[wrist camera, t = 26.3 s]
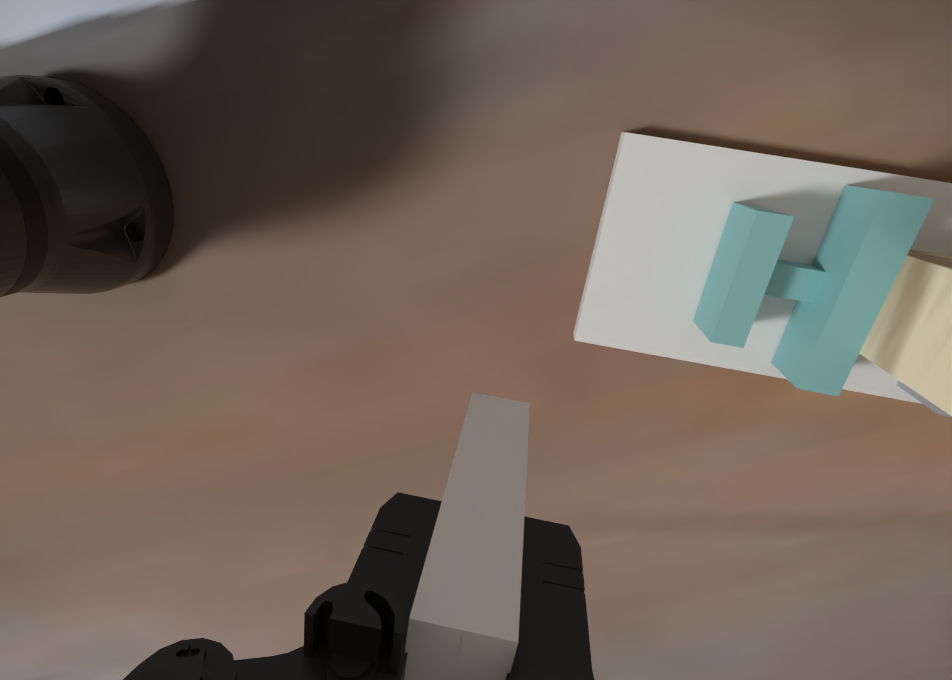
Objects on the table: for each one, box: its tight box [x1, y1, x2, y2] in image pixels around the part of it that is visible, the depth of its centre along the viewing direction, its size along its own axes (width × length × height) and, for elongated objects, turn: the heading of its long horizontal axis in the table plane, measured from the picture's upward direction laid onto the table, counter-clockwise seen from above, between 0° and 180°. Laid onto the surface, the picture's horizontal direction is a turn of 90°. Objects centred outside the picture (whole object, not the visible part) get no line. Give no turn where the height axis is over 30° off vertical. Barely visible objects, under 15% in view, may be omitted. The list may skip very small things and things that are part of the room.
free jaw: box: [693, 185, 934, 396], centre depth 31 cm, size 8×12×4 cm
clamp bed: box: [574, 132, 952, 417], centre depth 31 cm, size 25×14×6 cm, turn 82°
